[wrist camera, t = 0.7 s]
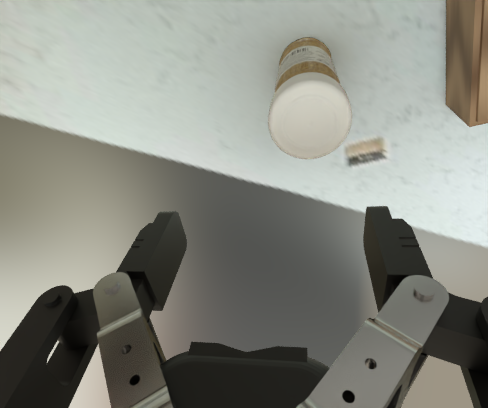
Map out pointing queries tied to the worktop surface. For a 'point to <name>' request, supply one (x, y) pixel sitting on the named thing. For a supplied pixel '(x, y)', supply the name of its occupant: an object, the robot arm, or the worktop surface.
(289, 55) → the sprinkles bottle
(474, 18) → the walnut block
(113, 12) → the worktop surface
